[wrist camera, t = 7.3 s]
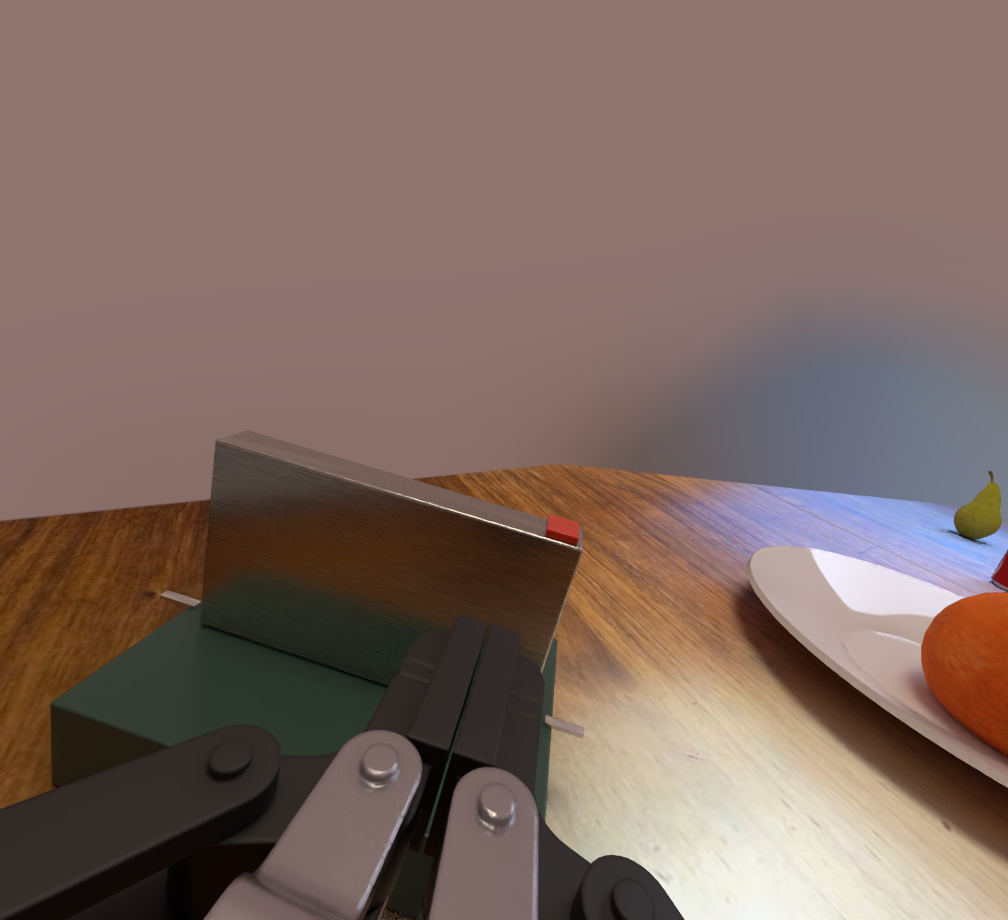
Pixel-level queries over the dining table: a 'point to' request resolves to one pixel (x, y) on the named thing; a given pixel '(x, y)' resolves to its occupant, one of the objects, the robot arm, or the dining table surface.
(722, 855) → the dining table surface
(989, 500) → the fruit
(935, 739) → the plate
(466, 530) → the upright slab
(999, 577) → the soda can
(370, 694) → the base block
